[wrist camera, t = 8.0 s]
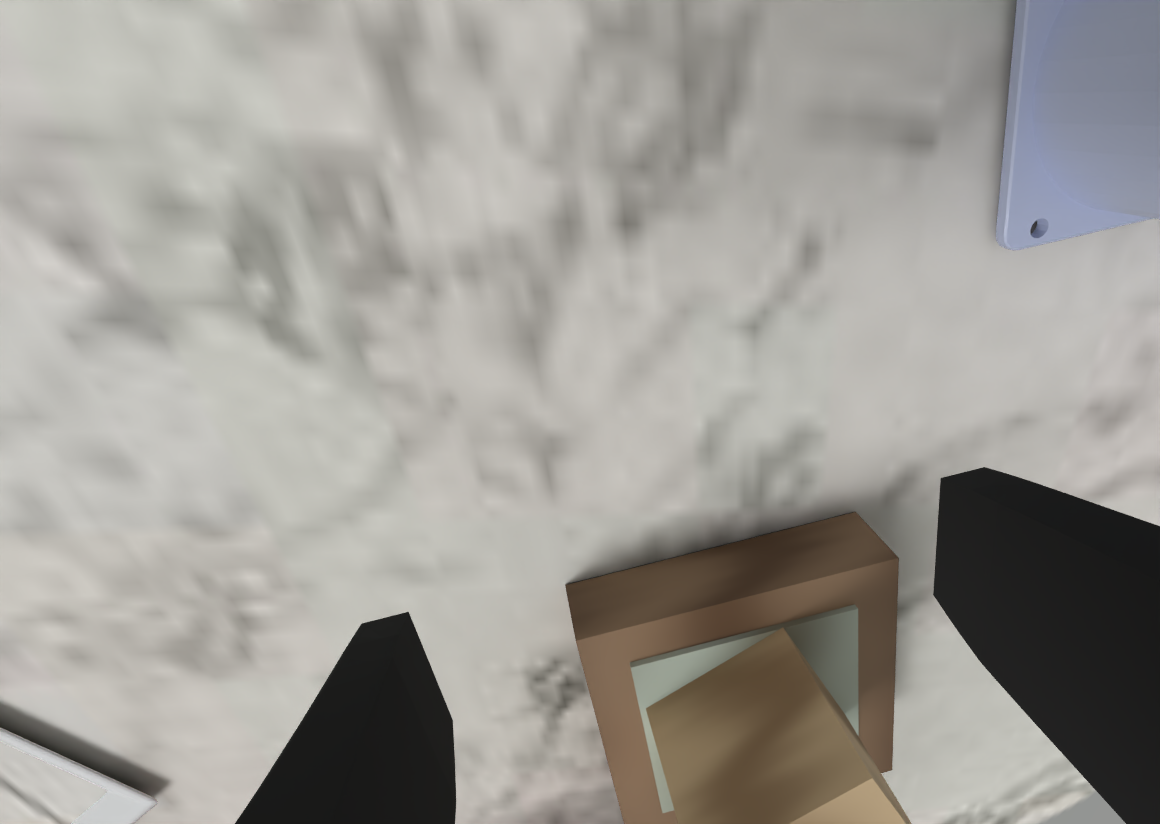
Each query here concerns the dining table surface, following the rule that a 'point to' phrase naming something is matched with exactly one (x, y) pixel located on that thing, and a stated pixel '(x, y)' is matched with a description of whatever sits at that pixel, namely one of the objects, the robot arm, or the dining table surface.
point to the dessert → (120, 804)
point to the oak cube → (766, 747)
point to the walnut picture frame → (737, 637)
